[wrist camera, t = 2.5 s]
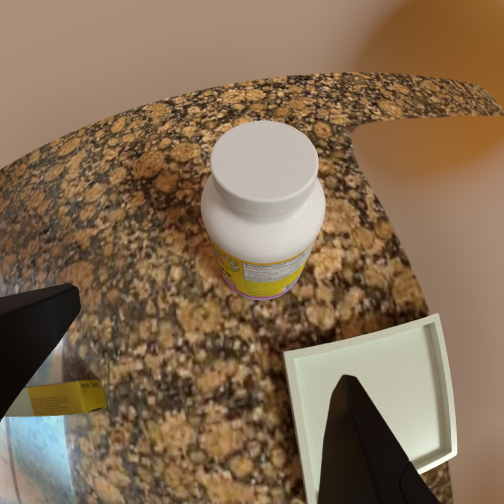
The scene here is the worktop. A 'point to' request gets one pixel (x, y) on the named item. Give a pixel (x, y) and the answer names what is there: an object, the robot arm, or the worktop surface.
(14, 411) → the medication box
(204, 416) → the worktop surface
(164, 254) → the worktop surface
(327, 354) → the tray
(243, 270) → the supplement bottle
